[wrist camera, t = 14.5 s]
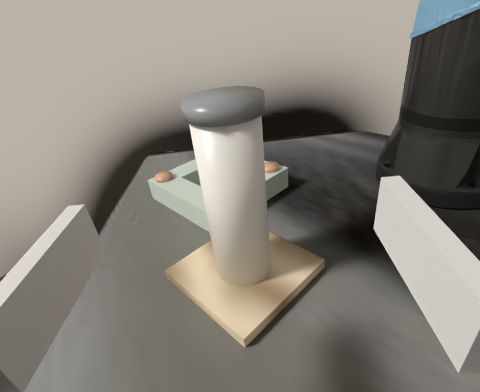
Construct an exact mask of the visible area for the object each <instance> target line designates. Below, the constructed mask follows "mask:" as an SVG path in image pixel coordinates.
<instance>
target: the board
mask: <svg viewBox="0 0 480 392" xmlns="http://www.w3.org/2000/svg"><path fill="white" fill-rule="evenodd" d="M269 245H270V261H271V268H270V271H269V273H268V275H267V276H266V277H265V278H264V279H263V280H261V281H260V282H258V283H256V284H253V285H250V286H234V285H230V284H228V283H226V282H224V281H223V280H222V279H221V278H220V277H219V275H218V273H217V267H216V262H215V257H214V252H213V246H212V241H209V242H208V243H206V244H205V245H203V246H202V247H200V248H199V249H197V250H196V251H194V252H193V253H191V254H189V255H188V256H186V257H185V258H183V259H182V260H180V261H179V262H177V263H176V264H174V265H173V266H171V267H170V268H168V269H167V270H165V274H166V277H167V279H168V280H170V281H171V282H172V283H173V284H174V285H175V286H176V287H177V288H179V289H180V290H181V291H182V292H183V293H184V294H185V295H186V296H188V297H189V298H190V299H191V300H192V301H193V302H194V303H195V304H197V305H198V306H199V307H200V308H201V309H202V310H203V311H204V312H206V313H207V314H208V315H209V316H210V317H211V318H212V319H213V320H214V321H216V322H217V323H218V324H219V325H220V326H221V327H222V328H223V329H225V330H226V331H227V332H228V333H229V334H230V335H231V336H232V337H234V338H235V339H236V340H237V341H238V342H239V343H240V344H241V345H243V346H244V347H246V346H247V345H248V344H249V343H250V342H251V341H252V340H253V339H254V338H255V337H256V336H257V335H258V334H259V333H260V332H261V331H262V330H263V329H264V328H265V327H266V326H267V325H268V324H269V323H270V322H271V321H272V320H273V319H274V318H275V317H276V316H277V315H278V314H279V313H280V312H281V311H282V310H283V309H284V308H285V307H286V306H287V305H288V304H289V303H290V302H291V301H292V300H293V299H294V298H295V297H296V296H297V295H298V294H299V293H300V292H301V291H302V290H303V289H304V288H305V287H306V286H307V285H308V284H309V282H310V281H311V280H312V279H313V278H314V277H315V276H316V275H317V274H318V273H319V272H320V271H321V270H322V269H323V268H324V267H325V259H323V258H321V257H319V256H317V255H315V254H313V253H311V252H309V251H307V250H305V249H303V248H301V247H299V246H297V245H295V244H293V243H291V242H289V241H287V240H285V239H283V238H281V237H279V236H277V235H275V234H273V233H271V232H269Z"/></svg>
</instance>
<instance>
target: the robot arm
mask: <svg viewBox="0 0 480 392" xmlns="http://www.w3.org/2000/svg"><path fill="white" fill-rule="evenodd" d="M410 38H412V40H411V46H410V53H409V58H408V65H407V72H406V77H405V83H404V90H403V95H402V102H401V108H400V114H399V119H398V122H397V124H396V126H395V128H394V130H393V131H392V133H391V135H390V137H389V139H388V141H387V143H386V144H385V146H384V148H383V150H382V152H381V154H380V156H379V158H378V163H377V170H376V177H377V179H378V181H379V182H380V188H379V195H378V202H377V208H376V215H375V222H374V230H375V232H376V234H377V236H378V237H379V239H380V241H381V242H382V244H383V246H384V247H385V249H386V251H387V253H388V254H389V256H390V258H391V259H392V261H393V263H394V264H395V266H396V268H397V270H398V271H399V273H400V275H401V276H402V278H403V280H404V281H405V283H406V285H407V287H408V288H409V290H410V292H411V293H412V295H413V297H414V298H415V300H416V302H417V304H418V305H419V307H420V309H421V310H422V312H423V314H424V315H425V317H426V319H427V321H428V322H429V324H430V326H431V327H432V329H433V331H434V332H435V334H436V336H437V338H438V339H439V341H440V343H441V344H442V346H443V348H444V349H445V351H446V353H447V354H448V356H449V358H450V360H451V361H452V363H453V365H454V366H455V368H456V370H457V371H458V373H470V372H480V243H479V242H478V241H476V240H474V239H473V238H468V239H459V238H458V237H457V236H456V235H455V234H454V233H453V232H452V231H451V230H450V229H449V228H448V227H447V226H446V225H445V223H444V222H443V221H442V220H441V219H440V218H439V217H438V216H437V215H436V214H435V213H434V212H433V211H432V210H431V209H430V207H429V206H428V205H430V206H435V207H442V208H453V209H473V208H480V0H421V1H420V3H419V7H418V11H417V17H416V20H415V25H414V29H413V32H412V33H411V35H410ZM104 252H105V248H104V246H103V244H102V242H101V240H100V237H99V235H98V233H97V231H96V229H95V227H94V224H93V222H92V220H91V218H90V216H89V213H88V211H87V209H86V207H85V205H74V206H68V207H67V208H66V209H65V210H64V211H63V212H62V214H61V215H60V216H59V217H58V218H57V219H56V220H55V221H54V223H53V224H52V225H51V226H50V227H49V228H48V229H47V230H46V232H45V233H44V234H43V235H42V236H41V237H40V238H39V239H38V240H37V241H36V243H35V244H34V245H33V246H32V247H31V248H30V249H29V251H27V253H26V254H25V255H24V256H23V257H22V258H21V259H20V260H19V262H18V263H17V264H16V265H15V266H14V267H13V268H12V269H11V270H10V272H9V273H8V274H6V275H4V276H3V277H1V278H0V392H24V390H25V388H26V387H27V385H28V383H29V381H30V380H31V378H32V376H33V375H34V373H35V371H36V369H37V368H38V366H39V364H40V362H41V361H42V359H43V357H44V356H45V354H46V352H47V350H48V349H49V347H50V345H51V343H52V342H53V340H54V338H55V336H56V335H57V333H58V331H59V330H60V328H61V326H62V324H63V323H64V321H65V319H66V317H67V316H68V314H69V312H70V311H71V309H72V307H73V305H74V304H75V302H76V300H77V298H78V297H79V295H80V293H81V292H82V290H83V288H84V286H85V285H86V283H87V281H88V279H89V278H90V276H91V274H92V272H93V271H94V269H95V267H96V266H97V264H98V262H99V260H100V259H101V257H102V255H103V253H104Z"/></svg>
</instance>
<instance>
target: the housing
mask: <svg viewBox="0 0 480 392" xmlns="http://www.w3.org/2000/svg"><path fill="white" fill-rule="evenodd" d="M264 165H265V181H266V197H267V200H269V199H270V198H272V197H273V196H275V195H276V194H278V193H279V192H281V191H282V190H284V189H285V188H287V187H288V168H287V167H284V166H281V165H279V164H278V163H277V162H267V161H264ZM148 182H149V186H150V189H151V193H152V196H153V198H154V199H155V200H157V201H159V202H160V203H162V204H164V205H165V206H167V207H169V208H170V209H172V210H174V211H175V212H177V213H178V214H180V215H182V216H183V217H185V218H187V219H188V220H190V221H192V222H193V223H195V224H197V225H198V226H200V227H202V228H203V229H205V230H207V231H208V232H210V231H209V226H208V220H207V215H206V210H205V205H204V199H203V194H202V189H201V184H200V178H199V173H198V168H197V163H196V159H194V160H192V161H190V162H188V163H185V164H183V165H181V166H179V167H176V168H174V169H172V170H170V171H163V172H160V173H158V174H156V175H155V177H154V178H152V179H150V180H148Z"/></svg>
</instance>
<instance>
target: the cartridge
mask: <svg viewBox="0 0 480 392" xmlns="http://www.w3.org/2000/svg"><path fill="white" fill-rule="evenodd" d="M180 103H181V108H182V113H183V117H184V121H185V122H186V123H188V124H189V126H190V131H191V136H192V142H193V147H194V152H195V157H196V163H197V168H198V173H199V178H200V184H201V189H202V194H203V199H204V205H205V210H206V215H207V220H208V226H209V231H210V236H211V241H212V246H213V252H214V257H215V262H216V267H217V273H218V275H219V277H220V278H221V279H222V280H223V281H224V282H226V283H228V284H230V285H234V286H250V285H253V284H256V283H258V282H260V281H261V280H263V279H264V278H265V277H266V276H267V275H268V273H269V271H270V268H271V261H270V245H269V229H268V213H267V197H266V181H265V165H264V150H263V134H262V119H261V115H263V114H264V112H265V97H264V91H263V90H262V89H260V88H256V87H248V86H234V87H222V88H215V89H209V90H204V91H200V92H196V93H193V94H190V95H188V96H186V97H184V98H183V99H182V100H181V102H180Z"/></svg>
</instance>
